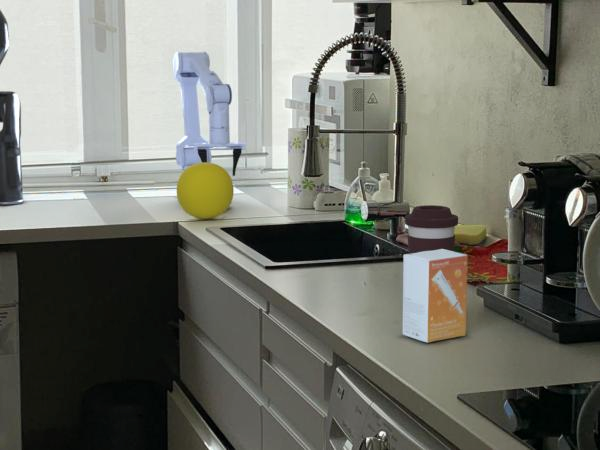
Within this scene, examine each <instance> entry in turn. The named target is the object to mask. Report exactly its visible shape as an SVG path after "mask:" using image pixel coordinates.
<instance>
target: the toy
mask: <svg viewBox="0 0 600 450" xmlns="http://www.w3.org/2000/svg"><path fill="white" fill-rule="evenodd" d="M234 191H235V190H234V184H233V180H232V177H231V176H230V174H229V172H228V171H227V170H226V169H225V168H224V167H222V166H221V165H219V164H216V163H213V162H211V163H207V162H203V163H197V164H194V165H191V166H189V167H188V168H186V169H185V170H184V171H183V172H182V171H181V174H180V175H179V177H178V180H177V183H176V197H177V202H178V203H179V206H180V208H181V209H182V210H183V211H184V212H185V213H186V214H187V215H189V216H190V217H193V218H196V219H200V220H201V219H202V220H209V219H214V218H217V217H219V216H221V215H222V214H225V212H226V211H227V210H229V207H231V204H232V202H233V198H234Z"/></svg>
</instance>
